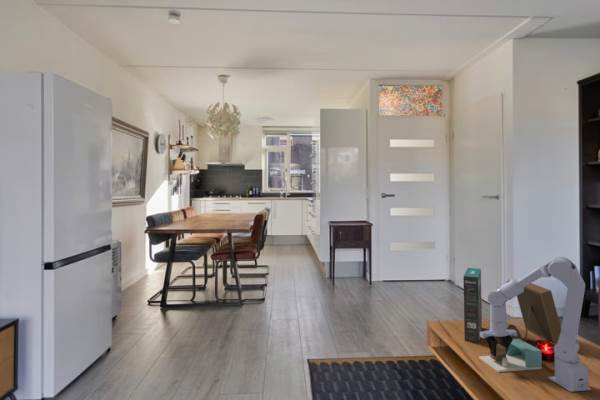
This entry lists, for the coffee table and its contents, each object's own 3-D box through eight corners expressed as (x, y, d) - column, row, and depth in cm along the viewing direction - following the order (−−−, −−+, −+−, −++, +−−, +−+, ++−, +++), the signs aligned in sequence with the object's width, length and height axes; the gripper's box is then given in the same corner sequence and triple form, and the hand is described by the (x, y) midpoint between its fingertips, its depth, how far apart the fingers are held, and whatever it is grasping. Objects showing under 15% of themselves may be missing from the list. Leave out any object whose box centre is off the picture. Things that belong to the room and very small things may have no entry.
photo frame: (534, 328, 178) (532, 278, 178) (565, 347, 157) (564, 290, 157) (504, 329, 179) (502, 279, 179) (531, 347, 157) (529, 291, 157)
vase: (524, 348, 156) (523, 328, 156) (506, 347, 157) (506, 327, 157) (517, 342, 163) (517, 323, 163) (501, 341, 164) (501, 322, 164)
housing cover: (541, 366, 138) (541, 350, 138) (527, 367, 137) (527, 351, 137) (519, 352, 150) (518, 338, 150) (505, 353, 149) (505, 339, 149)
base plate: (541, 368, 138) (541, 358, 138) (498, 372, 136) (498, 361, 136) (519, 355, 150) (519, 345, 150) (479, 358, 148) (478, 348, 148)
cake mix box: (479, 343, 163) (477, 277, 163) (464, 340, 166) (463, 276, 166) (481, 327, 182) (480, 268, 182) (468, 325, 185) (467, 267, 185)
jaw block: (506, 360, 141) (505, 347, 141) (496, 361, 140) (496, 348, 140) (499, 356, 145) (499, 343, 145) (490, 356, 144) (489, 344, 144)
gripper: (508, 316, 147) (508, 349, 147) (474, 318, 145) (475, 351, 145) (520, 322, 140) (521, 356, 140) (485, 324, 138) (486, 359, 138)
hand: (498, 354), depth 142 cm, fingers closed on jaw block, 4 cm apart
